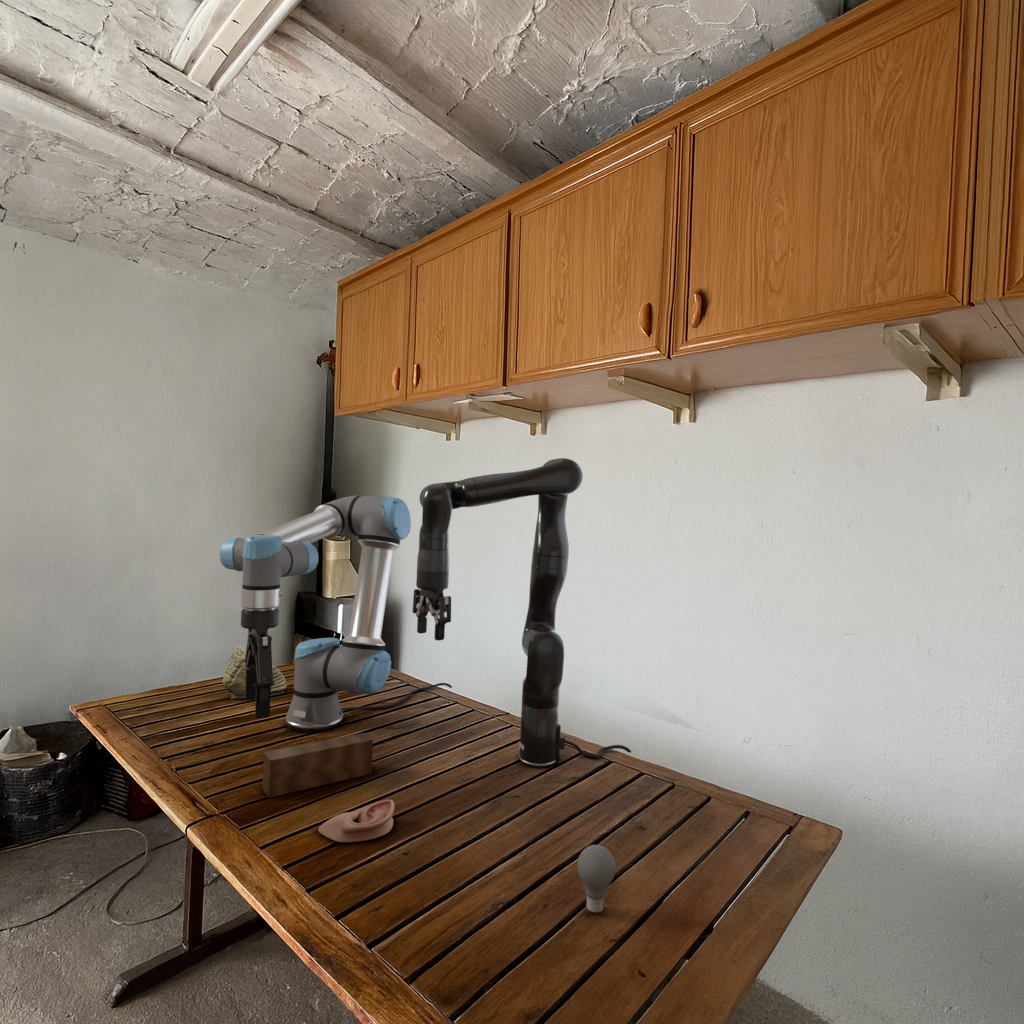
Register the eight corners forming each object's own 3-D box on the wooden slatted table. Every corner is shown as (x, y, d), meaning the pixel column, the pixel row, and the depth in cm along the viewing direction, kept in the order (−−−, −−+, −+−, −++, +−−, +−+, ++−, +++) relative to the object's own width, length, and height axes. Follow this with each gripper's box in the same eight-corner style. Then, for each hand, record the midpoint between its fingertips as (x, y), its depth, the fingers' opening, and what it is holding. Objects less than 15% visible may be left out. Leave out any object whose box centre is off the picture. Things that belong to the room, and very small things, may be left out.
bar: (268, 797, 132) (270, 760, 132) (262, 788, 136) (263, 752, 136) (371, 773, 146) (373, 739, 146) (362, 765, 150) (364, 732, 150)
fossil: (218, 695, 195) (220, 647, 195) (278, 685, 208) (279, 640, 207) (228, 703, 189) (230, 653, 188) (289, 692, 201) (290, 645, 201)
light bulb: (572, 898, 103) (575, 837, 103) (608, 897, 103) (611, 837, 103) (579, 922, 97) (582, 858, 97) (617, 922, 97) (620, 858, 97)
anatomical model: (310, 816, 117) (339, 789, 129) (309, 837, 117) (338, 808, 129) (377, 827, 115) (401, 798, 126) (376, 848, 115) (400, 818, 126)
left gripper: (291, 617, 126) (287, 723, 126) (268, 598, 147) (265, 689, 147) (250, 619, 122) (246, 729, 122) (233, 599, 143) (230, 692, 144)
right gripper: (462, 571, 146) (459, 641, 146) (432, 564, 157) (429, 629, 158) (433, 572, 141) (430, 644, 142) (404, 565, 153) (402, 632, 153)
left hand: (256, 707), depth 135 cm, fingers open, 13 cm apart
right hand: (430, 636), depth 150 cm, fingers open, 8 cm apart
